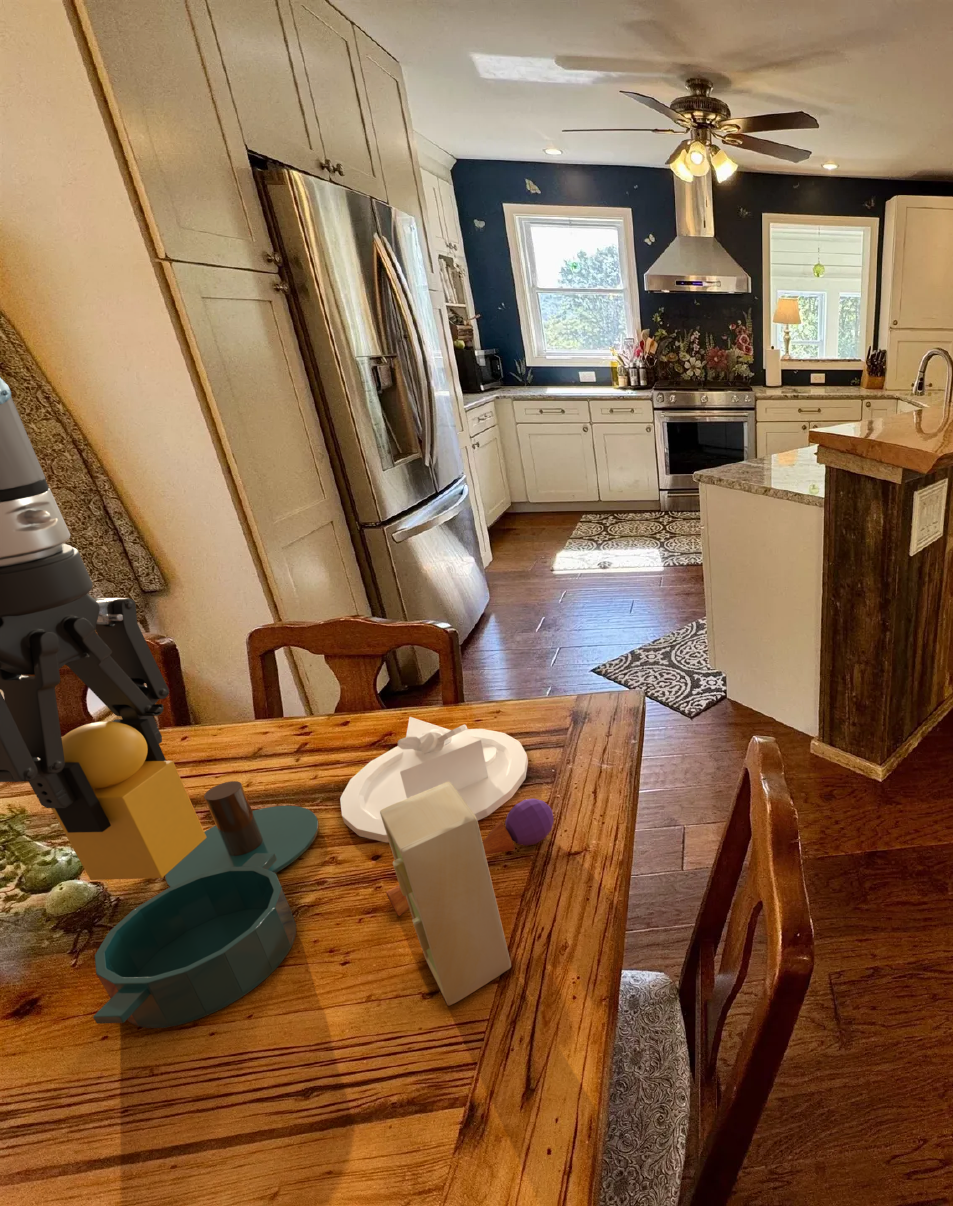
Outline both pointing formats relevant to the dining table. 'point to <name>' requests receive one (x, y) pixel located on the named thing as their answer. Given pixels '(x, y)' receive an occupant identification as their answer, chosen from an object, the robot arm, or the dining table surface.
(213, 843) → the lid
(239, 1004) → the dining table surface
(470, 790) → the dish
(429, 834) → the toy refrigerator
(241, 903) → the pot
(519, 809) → the kendama
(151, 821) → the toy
